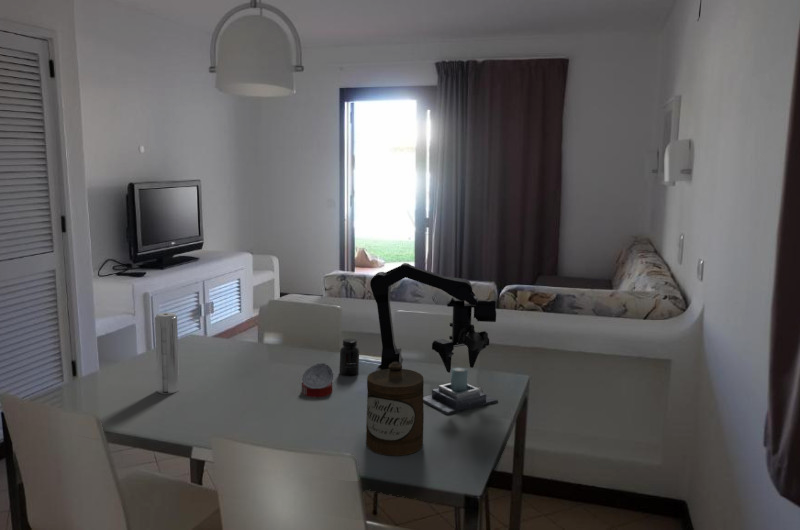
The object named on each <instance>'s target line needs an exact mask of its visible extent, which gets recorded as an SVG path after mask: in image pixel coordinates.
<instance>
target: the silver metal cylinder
mask: <svg viewBox="0 0 800 530" xmlns="http://www.w3.org/2000/svg"><path fill="white" fill-rule="evenodd" d="M154 332H155V334H154V335H155V338H154V339H155V360H156V361H155V363H156V384H157V385H156V386H157V387H156V389H157V393H158V394H160V395H171V394H176V393H178V391H180V375H179V373H180V372H179V370H180V368H179V344H178V343H179V340H178V339H179V337H178V316H177V315H176V313H174V312H160V313H159V312H158V313H157V314H156V315H155V317H154Z"/></svg>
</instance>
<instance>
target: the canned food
mask: <svg viewBox="0 0 800 530" xmlns="http://www.w3.org/2000/svg"><path fill="white" fill-rule="evenodd" d="M301 380H302V382H301V394H302V395H303V396H306V397H308V398H309V397H310V398H322V397H327V396H329V395H331V394H332V393H333V380H334V373H333V369H332V367H330V365H328V364H326V363H315V364H313V365H312V366H310V367H309V368H308V369H306V370H305V371H304V373H303V374H302V379H301Z"/></svg>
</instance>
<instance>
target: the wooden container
mask: <svg viewBox="0 0 800 530" xmlns="http://www.w3.org/2000/svg"><path fill="white" fill-rule="evenodd" d="M402 364H403V363H402ZM402 364H400V363H399V362H392V363H391V364H390V365H389V369H383V370H378V371H376V370H375V371H372V372H371V373H369V374H368V375H367V376H366V377H367V378H366V388H367V393H366V394H367V398H366V399H367V400H366V401H367V402H366V420H365V421H366V423H365V424H366V425H365V429H366V433H365V434H366V435H365V436H366V440H365V441H366V443H365V444H366V446H367V447H368V449H369V450H371V451H372V452H374V453H377V454H380V455H384V456H392V457H401V456H405V455H410V454H414V453H416V452H418V451H420V450H421V448H423V445H424V420H425V419H424V417H425V416H424V412H425V411H424V402H423V397H424V383H425V382H424V380H425V379H424V376H423V375H422V374H421V373H420V372H418V371H416V370H411V369H407V368H406V369H405V368H403V365H402Z"/></svg>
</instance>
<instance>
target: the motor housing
mask: <svg viewBox="0 0 800 530" xmlns="http://www.w3.org/2000/svg"><path fill="white" fill-rule="evenodd" d="M496 403H499V400H498V399H497V398H495V397H493V396H490V395H488V394H486V393H484V390H483V388H482V387H480V386H479V387H476V386H474V385H471V384H469V383H467V391H463V392H458V393H457V392H455V391H453V390H451V382H449V383H445V384H440V385H438V388H432V389H431V394H430V395H425V396H423V404H425V405H428V406H430V407H432V408H433V409H436V410H437V411H439V412H441V413H443V414H444V415H447V416H448V415H453V414H456V413H460V412H465V411H469V410H473V409H476V408H480V407H484V406H487V405H492V404H496Z"/></svg>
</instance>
